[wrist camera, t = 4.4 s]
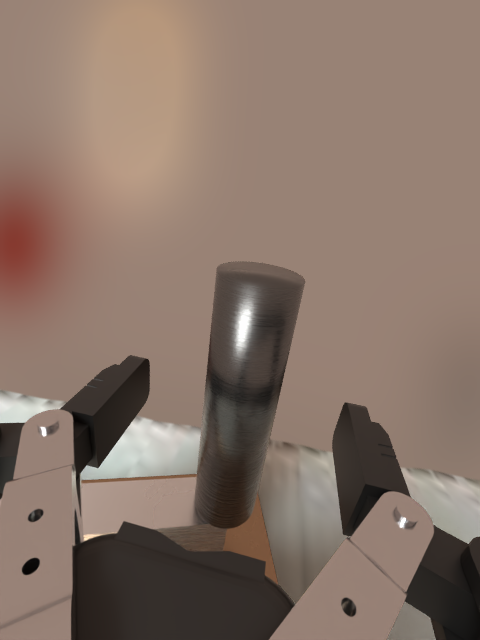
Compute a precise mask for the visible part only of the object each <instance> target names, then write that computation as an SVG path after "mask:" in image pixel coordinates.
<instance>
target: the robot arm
mask: <svg viewBox="0 0 480 640" xmlns="http://www.w3.org/2000/svg"><path fill="white" fill-rule="evenodd" d="M149 387H150V365H149V360H148V359H145V358H140V357H136V356H132V355H130V356H128V357H127V358H126V359H125V360H124V361H123V362H122V363H121V364H120V365H116V364H115V365H112V366H110V367H108V368H106V369H104V370H102V371H101V372H100V373H99V374H98V375H97V376H96V377H95V378H94V380H91V381H90V382H89V383H88V384H87V386H85V387H84V388H83V389H82V390H80V391H79V392H78V393H77V394H76V395H75V396H74V397H73V398H72V399H70V400H69V401H68V402H67V403H66V404H65V405H64V406H63V407H62V408H61V409H60V410H58V409H57V410H48V411H44V412H41V413H39V414H37V415H35V416H33V417H32V418H30V419H29V420H28V421H27V422H26V423H0V499H1V498H2V500H1V505H0V640H386V639H387V637H388V635H389V633H390V631H391V629H392V627H393V625H394V622H395V620H396V618H397V616H398V614H399V612H400V610H401V608H402V606H403V603H404V601H406V602H407V603H409V604H410V605H412V606H413V607H415V608H416V609H418V610H419V611H421V612H423V613H424V614H426V615H427V616H429V617H430V618H431V622H432V626H433V630H434V633H435V637H436V640H480V537H476V538H474V539H473V540H472V541H471V542H470V543H469V544H467V543H465V542H463V541H461V540H459V539H458V538H456V537H454V536H452V535H450V534H448V533H446V532H444V531H442V530H441V529H439V528H437V527H436V526H435V525H433V523H432V520H431V518H430V516H429V515H428V513H427V512H426V511H425V510H424V508H423V507H422V506H421V505H420V504H419V503H417V502H416V501H415V500H414V499H412V498H411V497H410V494H409V491H408V488H407V485H406V483H405V480H404V477H403V474H402V472H401V469H400V466H399V463H398V461H397V459H396V455H395V452H394V449H392V444H391V441H390V438H389V435H388V434H387V433H386V431H385V430H384V429H383V428H382V427H381V425H380V424H379V423H375V422H371V420H370V417H369V413H368V410H367V408H366V407H365V406H360V405H356V404H351V403H344V405H343V408H342V411H341V413H340V417H339V419H338V422H337V425H336V428H335V431H334V435H333V443H332V444H333V445H332V446H333V447H332V448H333V457H334V465H335V473H336V481H337V489H338V497H339V505H340V513H341V521H342V529H343V534H344V535H347V536H351V537H350V538H348V537H347V538H346V539H345V540H344V541H343V543H342V544H341V545H340V547H339V548H338V549H337V550H336V552H335V553H334V554H333V556H332V557H331V558H330V560H329V561H328V562H327V564H326V565H325V566H324V568H323V569H322V570H321V572H320V573H319V574H318V576H317V577H316V578H315V579H314V581H313V582H312V583H311V585H310V586H309V587H308V589H307V590H306V591H305V593H304V594H303V595H302V597H301V598H300V599H299V601H298V602H297V603H296V605H295V604H294V602H293V601H292V600H291V598H290V597H289V596H288V594H287V593H286V592H285V591H284V590H283V589H282V588H281V587H280V586H279V585H278V584H276V583H275V582H274V581H273V580H272V579H270V578H269V577H267V576H266V575H265V566H266V561H263V560H259V559H256V558H252V557H249V556H245V555H242V554H238V553H234V552H231V551H199V552H193V551H188V550H186V549H185V548H183V547H182V546H180V545H179V544H177V543H175V542H174V541H172V540H171V539H169V538H168V537H166V536H165V535H163V534H162V533H160V532H159V531H157V530H154V529H150V528H147V527H143V526H140V525H136V524H132V523H129V522H125V521H123V523H122V525H121V527H120V529H119V531H118V532H117V533H111V534H105V535H100V536H97V537H93V538H91V539H88V540H85V541H84V535H83V519H82V491H81V474H80V473H81V472H82V470H83V469H84V468H85V466H86V465H88V466H92V467H96V468H99V466H100V465H101V463H102V462H103V461H104V459H105V458H106V457H107V455H108V454H109V452H110V451H111V450H112V448H113V447H114V446H115V444H116V443H117V441H118V440H119V439H120V437H121V436H122V435H123V433H124V432H125V430H126V429H127V428H128V426H129V425H130V424H131V422H132V421H133V419H134V418H135V417H136V415H137V414H138V413H139V411H140V410H141V408H142V407H143V406H144V404H145V403H146V401H147V398H148V395H149V389H150V388H149Z"/></svg>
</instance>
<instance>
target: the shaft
mask: <svg viewBox="0 0 480 640" xmlns="http://www.w3.org/2000/svg"><path fill="white" fill-rule="evenodd" d="M304 284H305V280H304V278H303V277H302V276H301V275H299V274H297V273H295V272H293V271H291V270H288V269H285V268H282V267H278V266H274V265H269V264H263V263H256V262H228V263H223V264H221V265H219V266H218V267H217V272H216V283H215V292H214V303H213V314H212V323H211V334H210V345H209V354H208V365H207V375H206V385H205V396H204V406H203V416H202V427H201V437H200V447H199V457H198V468H197V477H187V478H169V479H152V480H134V481H117V482H99V483H82V484H81V491H82V519H83V535H84V541H85V540H88V539H91V538H93V537H97V536H100V535H105V534H111V533H117V532H118V531H119V529H120V527H121V525H122V523H123V521H125V522H129V523H132V524H136V525H140V526H143V527H147V528H150V529H154V530H157V531H159V532H160V533H162V534H163V535H165V536H166V537H168V538H169V539H171V540H172V541H174V542H175V543H177V544H179V545H180V546H182V547H183V548H185V549H186V550H188V551H193V552H199V551H223V549H224V543H225V537H226V531H227V529H231V528H235V527H238V526H240V525H242V524H243V523H245V522H246V521H247V520H248V519H249V517H250V516H251V514H252V512H253V510H254V506H255V501H256V497H257V493H258V488H259V484H260V479H261V475H262V470H263V466H264V462H265V457H266V453H267V448H268V444H269V439H270V435H271V431H272V426H273V422H274V417H275V413H276V408H277V404H278V400H279V395H280V391H281V386H282V382H283V377H284V373H285V369H286V364H287V360H288V355H289V351H290V346H291V342H292V338H293V333H294V328H295V324H296V320H297V315H298V310H299V307H300V302H301V298H302V293H303V289H304ZM1 500H2V498H1V499H0V505H1Z"/></svg>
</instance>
